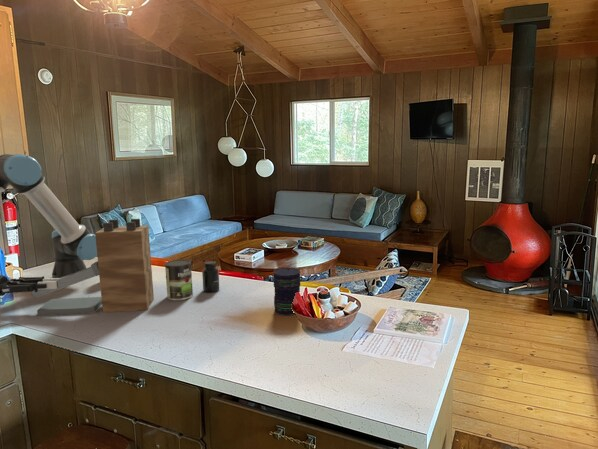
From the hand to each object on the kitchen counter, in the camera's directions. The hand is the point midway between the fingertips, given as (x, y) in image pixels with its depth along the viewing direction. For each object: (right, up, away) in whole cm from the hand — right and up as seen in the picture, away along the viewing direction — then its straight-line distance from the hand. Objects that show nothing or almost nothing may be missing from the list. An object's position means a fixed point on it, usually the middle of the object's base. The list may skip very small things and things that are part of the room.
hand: (58, 283), depth 173 cm
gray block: (+4, -10, +2) cm, 11 cm away
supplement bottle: (+53, -6, +21) cm, 57 cm away
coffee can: (+42, -7, +14) cm, 45 cm away
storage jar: (+86, -10, -4) cm, 87 cm away
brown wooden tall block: (+25, -9, +4) cm, 27 cm away
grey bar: (+3, -1, 0) cm, 3 cm away
